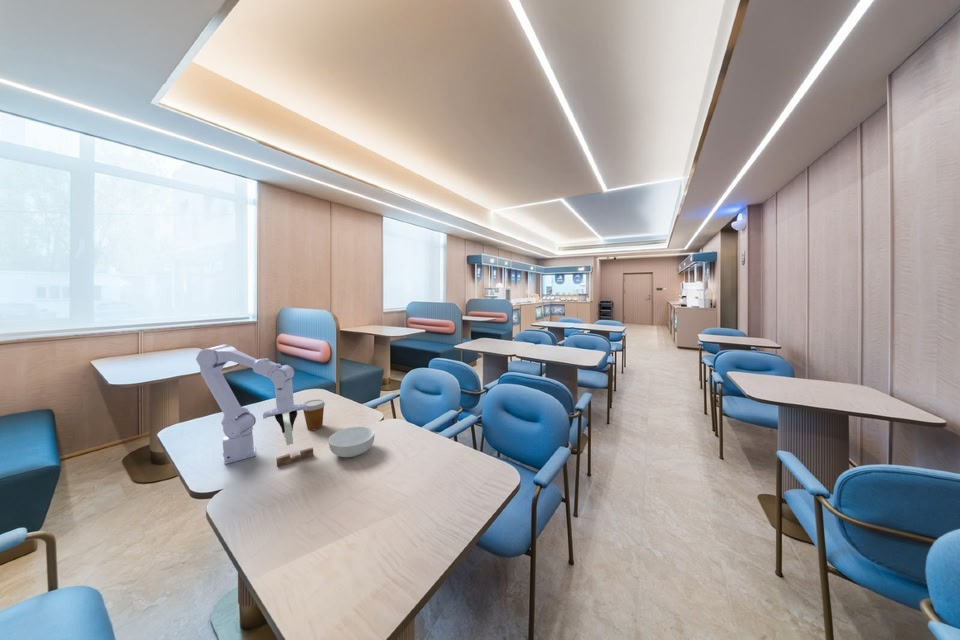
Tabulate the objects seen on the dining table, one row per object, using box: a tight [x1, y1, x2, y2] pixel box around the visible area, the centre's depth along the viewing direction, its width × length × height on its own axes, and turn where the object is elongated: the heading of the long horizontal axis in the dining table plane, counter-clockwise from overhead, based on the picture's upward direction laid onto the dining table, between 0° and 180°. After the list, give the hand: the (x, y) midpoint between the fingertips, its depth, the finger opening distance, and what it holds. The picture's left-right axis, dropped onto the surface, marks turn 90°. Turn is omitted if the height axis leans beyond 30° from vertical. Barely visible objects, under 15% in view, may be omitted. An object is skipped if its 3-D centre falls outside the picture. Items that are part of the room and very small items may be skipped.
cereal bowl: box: [328, 426, 375, 458], centre depth 124 cm, size 17×17×7 cm
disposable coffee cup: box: [302, 398, 326, 431], centre depth 146 cm, size 10×10×12 cm
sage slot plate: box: [282, 415, 294, 446], centre depth 123 cm, size 12×2×7 cm, turn 37°
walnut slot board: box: [275, 447, 315, 468], centre depth 119 cm, size 12×2×3 cm, turn 127°
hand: (287, 431), depth 123 cm, fingers closed on sage slot plate, 2 cm apart
